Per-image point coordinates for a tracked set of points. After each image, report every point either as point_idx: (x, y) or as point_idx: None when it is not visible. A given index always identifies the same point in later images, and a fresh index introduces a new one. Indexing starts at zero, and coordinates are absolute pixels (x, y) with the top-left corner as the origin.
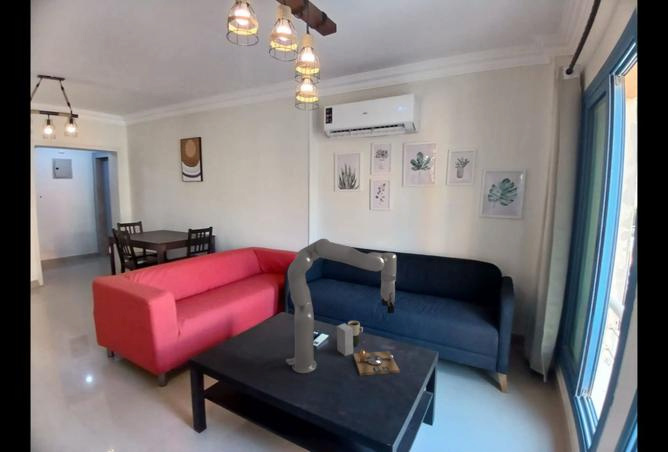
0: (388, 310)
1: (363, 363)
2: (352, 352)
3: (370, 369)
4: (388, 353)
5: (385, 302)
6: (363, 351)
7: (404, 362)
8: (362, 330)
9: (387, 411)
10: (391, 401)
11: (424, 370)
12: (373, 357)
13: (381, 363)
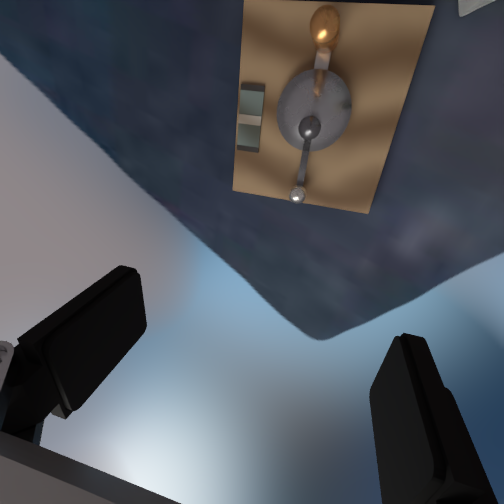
0: (95, 291)
1: (313, 44)
2: (460, 7)
3: (259, 67)
4: (351, 203)
5: (391, 418)
6: (314, 28)
7: (289, 235)
8: None
9: (64, 57)
10: (105, 91)
11: (234, 266)
12: (327, 112)
13: None
